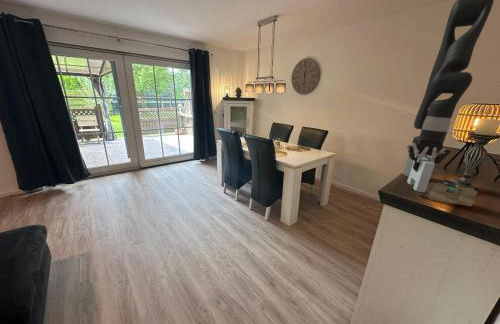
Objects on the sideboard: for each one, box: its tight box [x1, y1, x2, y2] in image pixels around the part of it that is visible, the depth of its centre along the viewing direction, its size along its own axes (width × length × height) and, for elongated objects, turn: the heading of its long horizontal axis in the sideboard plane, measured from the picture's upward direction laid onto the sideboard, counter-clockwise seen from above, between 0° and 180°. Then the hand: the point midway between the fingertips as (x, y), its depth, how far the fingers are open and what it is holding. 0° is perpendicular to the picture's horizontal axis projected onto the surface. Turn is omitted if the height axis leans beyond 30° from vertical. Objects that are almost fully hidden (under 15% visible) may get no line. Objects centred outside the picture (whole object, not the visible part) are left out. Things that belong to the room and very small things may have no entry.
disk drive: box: [437, 179, 477, 194], centre depth 89 cm, size 10×3×15 cm
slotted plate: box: [406, 156, 436, 194], centre depth 83 cm, size 10×3×12 cm, turn 159°
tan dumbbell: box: [425, 182, 478, 207], centre depth 77 cm, size 3×13×6 cm, turn 70°
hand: (420, 171), depth 82 cm, fingers closed on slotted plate, 3 cm apart
